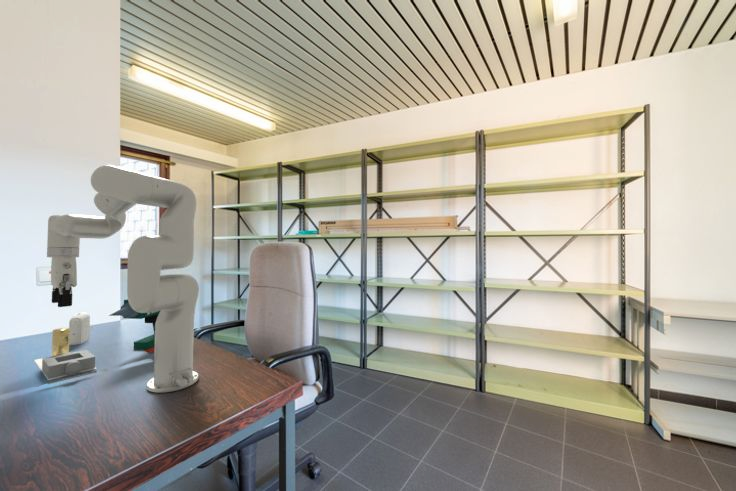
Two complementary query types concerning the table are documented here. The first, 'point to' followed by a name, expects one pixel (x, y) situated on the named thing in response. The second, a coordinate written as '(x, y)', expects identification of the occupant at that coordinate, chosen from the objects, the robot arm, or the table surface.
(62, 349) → the tan rectangular block
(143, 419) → the table surface
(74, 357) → the grey slotted block
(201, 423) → the table surface
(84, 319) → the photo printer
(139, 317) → the power tool
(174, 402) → the table surface
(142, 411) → the table surface
